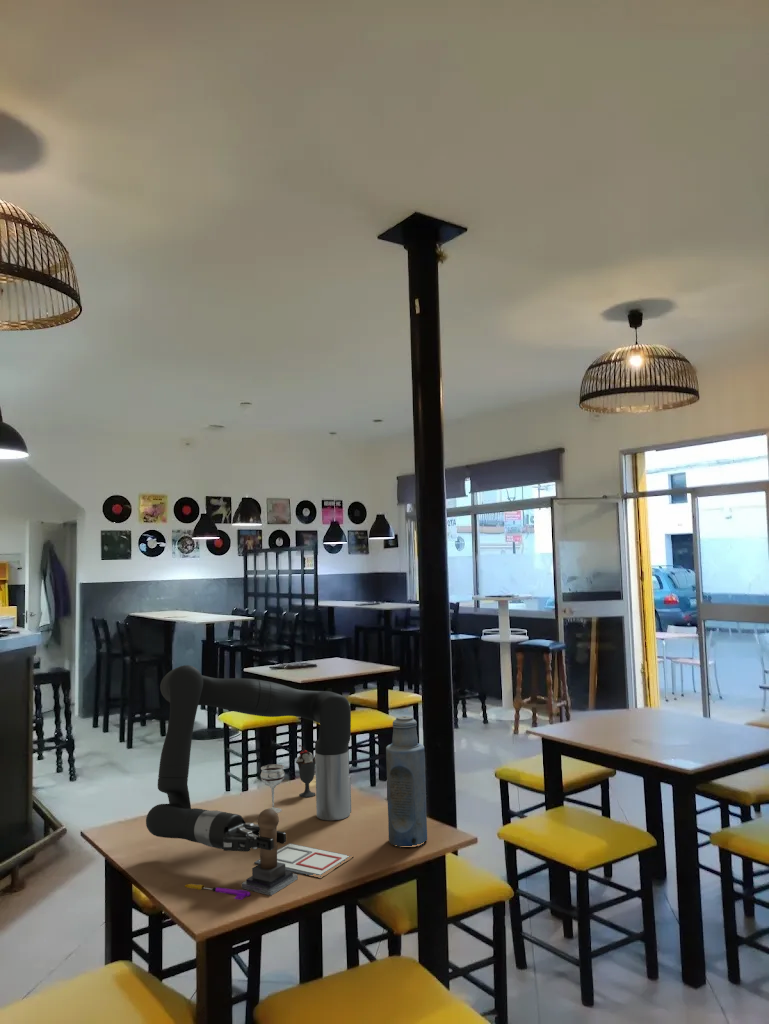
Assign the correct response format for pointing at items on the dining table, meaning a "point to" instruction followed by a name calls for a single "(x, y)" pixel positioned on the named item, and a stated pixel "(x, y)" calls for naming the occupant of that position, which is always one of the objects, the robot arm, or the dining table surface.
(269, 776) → the wineglass
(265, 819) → the stamp
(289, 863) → the print sheet
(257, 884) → the ink pad
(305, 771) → the sundae
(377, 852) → the dining table surface
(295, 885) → the dining table surface
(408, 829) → the bottle
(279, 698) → the robot arm
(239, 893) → the marker pen
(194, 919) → the dining table surface
